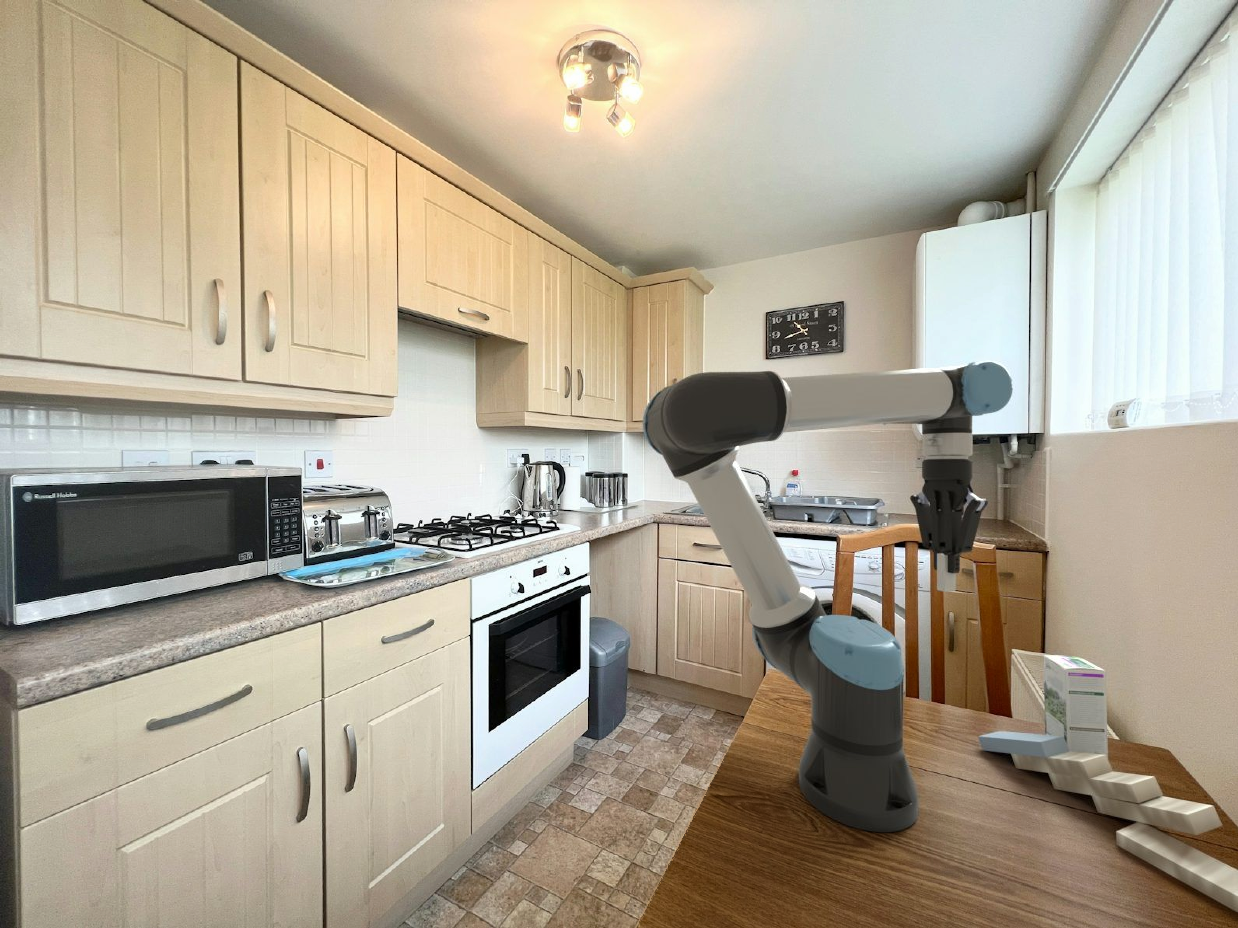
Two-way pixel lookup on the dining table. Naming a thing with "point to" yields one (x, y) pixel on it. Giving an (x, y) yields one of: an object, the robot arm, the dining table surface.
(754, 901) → the dining table surface
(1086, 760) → the domino
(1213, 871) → the domino
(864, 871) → the dining table surface
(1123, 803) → the domino
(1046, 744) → the domino
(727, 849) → the dining table surface
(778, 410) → the robot arm
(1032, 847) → the dining table surface
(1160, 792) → the domino
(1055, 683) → the syrup box
